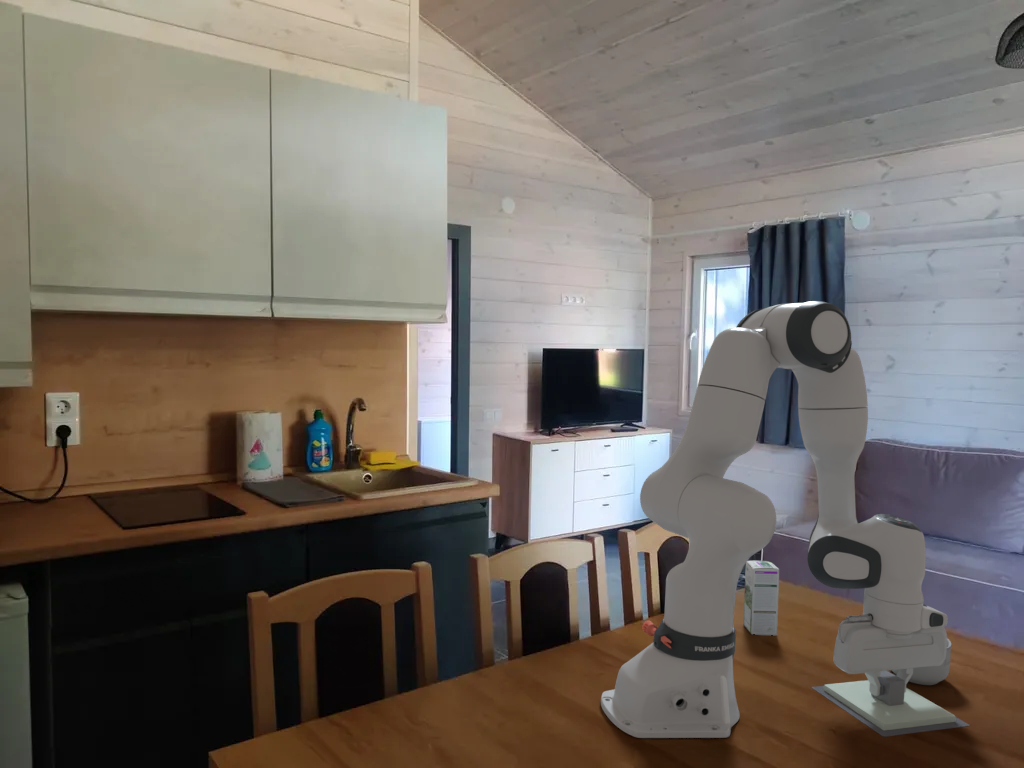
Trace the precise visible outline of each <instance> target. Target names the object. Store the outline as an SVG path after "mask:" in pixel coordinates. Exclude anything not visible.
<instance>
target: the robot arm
mask: <svg viewBox="0 0 1024 768" xmlns="http://www.w3.org/2000/svg"><path fill="white" fill-rule="evenodd" d="M852 344H853V343H852V331H851V327H850V323H849V321H848V319H847V317H846V315H845V313H844V312H843V310H841V308H840V307H839V306H838V305H837V306H836V305H835V304H833V303H829V302H825V301H820V300H812V301H811V300H810V301H806V302H794V303H793V302H792V303H791V302H784V303H780V304H775V305H773V306H768V307H764V308H758V309H755V310H753V311H750V312H749V313H748V314H746V315H745V316H744V317H743V318H742V319H741V320H740V321H739V322H738V323H737V325H736V326H735V327H731V328H726V329H724V330H722V331H721V332H719V333H718V334H716V336H715V338H714V340H713V342H712V344H711V345H710V347H709V351H708V353H707V355H706V358H705V360H704V363H703V367H702V369H701V372H700V375H699V379H698V383H697V387H696V391H695V394H694V399H693V402H692V407H691V409H690V410H691V411H690V412H689V413H690V414H689V417H688V421H687V424H686V427H685V430H684V433H683V435H682V436H681V439H680V441H679V443H678V445H677V446H676V448H675V450H674V451H673V452H672V454H671V455H670V457H669V458H668V459H667V461H666V462H665V463H664V464H663V465H662V466H660V467H659V468H658V469H656V470H654V471H653V472H651V474H649V475H648V476H647V478H646V479H645V480H644V482H643V484H642V485H641V486H642V487H641V489H640V493H639V497H640V498H639V502H640V507H641V509H642V512H643V513H644V516H646V517H647V518H648V519H649V520H650V521H652V522H653V523H654V524H656V525H657V526H659V527H660V528H662V529H664V531H667V532H670V533H673V534H675V535H679V536H682V537H684V538H687V539H688V543H689V544H688V549H687V552H686V553H687V554H686V557H685V559H684V561H683V562H681V563H678V564H677V565H675V566H673V567H672V568H671V569H670V570H669V571H668V573H667V576H666V579H665V595H664V616H663V618H662V620H661V621H660V624H659V625H658V626H657V625H656V624H655V623H653V621H651V620H645V621H644V622H643V623H642V626H641V627H642V631H643V632H644V633H646V634H647V635H648V636H650V637H653V639H652V642H651V643H650V644H649V645H647V647H645V648H644V649H642V650H641V651H640V652H638V653H637V654H636V655H635V656H633V657H632V658H630V659H629V660H628V661H627V662H624V663H623V664H622V665H621V667H620V668H619V670H618V673H617V677H616V681H615V686H614V689H609V690H605V691H603V692H602V694H601V697H600V706H601V709H602V711H603V713H604V714H605V715H606V716H607V718H608V719H609V721H610V722H612V724H614V725H615V726H616V728H619V730H621V731H622V732H624V733H626V734H627V735H630V736H632V737H634V738H638V739H669V738H670V739H679V738H680V739H681V738H683V739H686V738H687V739H689V738H690V739H694V738H695V739H696V738H697V739H698V738H699V739H700V738H701V739H711V738H712V739H714V738H716V739H717V738H719V739H721V738H722V739H723V738H729V737H730V735H731V733H732V730H731V729H732V727H733V726H734V725H735V724H736V723H737V722H738V721H739V720H740V717H741V716H740V711H739V707H738V706H739V705H738V703H737V702H738V701H737V698H736V697H737V696H736V691H735V690H736V689H735V682H734V663H733V659H734V657H735V652H736V636H737V635H736V633H737V632H736V628H735V627H734V617H735V607H736V605H735V603H736V595H737V594H736V593H737V587H738V582H739V578H740V576H741V573H742V571H743V569H744V568H745V566H746V562H747V561H749V559H750V558H751V557H752V556H754V555H755V554H757V553H758V552H760V551H762V550H763V549H764V548H766V546H767V545H769V543H770V542H771V540H772V538H773V536H774V534H775V531H776V526H777V513H776V509H775V506H774V503H773V501H772V500H771V499H770V498H769V497H768V495H766V494H765V493H763V492H761V491H759V490H758V489H756V488H754V487H752V486H750V485H748V484H746V483H743V482H741V481H736V480H734V479H733V480H732V479H727V478H724V476H725V474H726V472H727V470H728V469H729V467H730V466H731V464H732V463H733V462H735V460H736V459H737V458H739V457H741V456H743V455H744V454H745V455H746V454H748V453H749V452H750V451H751V450H752V449H753V447H754V446H755V445H756V442H757V438H758V435H759V429H760V425H761V421H762V416H763V412H764V408H765V403H766V399H767V394H768V390H769V389H768V387H769V383H770V379H771V378H772V375H773V373H774V372H775V371H776V369H784V370H785V369H786V370H791V372H793V375H794V377H795V378H796V382H797V386H798V388H797V390H798V393H797V408H798V409H797V410H798V412H797V413H798V423H799V429H800V433H801V439H802V441H803V442H802V444H803V446H804V448H805V450H806V451H807V453H808V454H809V455H810V457H811V460H812V462H813V464H814V468H815V472H816V479H817V481H816V482H817V499H818V502H817V503H818V504H817V505H818V514H817V520H816V522H815V524H814V526H813V528H812V530H811V533H810V536H809V541H808V543H809V544H808V545H809V547H808V551H807V552H808V553H807V559H806V560H807V565H808V567H809V568H808V569H809V571H810V572H811V574H812V575H813V577H814V578H815V579H816V580H817V581H818V582H820V583H821V584H823V585H825V586H827V587H829V588H833V589H839V590H840V589H843V590H844V589H847V590H849V589H850V590H853V589H854V590H855V589H863V591H864V592H863V593H864V594H863V607H862V608H863V609H862V611H863V612H862V614H857V615H854V614H851V615H847V616H846V617H845V618H844V619H842V621H841V622H840V623H839V624H838V631H837V635H836V639H835V643H834V649H833V657H832V658H833V659H832V661H833V663H834V665H835V666H836V667H837V668H838V669H840V670H841V671H843V672H845V673H847V674H848V675H858V674H864V675H865V676H866V678H867V680H868V681H869V682H870V688H869V690H870V693H871V694H873V695H875V696H881V695H884V688H885V686H884V685H882V684H880V683H879V680H878V678H877V677H880V674H881V671H888V672H889V671H892V670H898V669H899V672H898V674H897V675H896V676H897V677H899V678H901V679H903V680H904V681H905V691H904V693H905V692H906V688H907V684H908V683H909V679H910V678H911V676H912V674H913V668H919V667H930V666H940V665H941V664H942V663H943V662H944V660H945V658H946V651H947V638H948V634H947V630H946V628H945V627H946V626H947V625H948V620H949V619H948V615H947V614H946V613H945V612H942V611H940V610H938V609H935V608H933V607H932V606H928V605H927V604H925V603H924V595H923V591H922V590H923V589H922V585H923V580H924V579H925V575H926V561H927V560H926V556H927V555H926V554H927V553H926V540H925V535H924V533H923V531H922V530H921V528H920V527H919V526H918V525H916V523H914V522H912V521H910V520H907V518H906V519H905V518H903V517H900V516H897V515H893V514H886V513H885V514H884V513H879V514H875V515H873V516H872V517H871V518H868V519H866V520H864V521H862V522H859V520H858V518H857V517H858V516H857V511H856V510H857V509H856V488H855V485H856V484H855V482H856V481H855V473H856V468H857V463H858V460H859V458H860V456H861V454H862V452H863V450H864V448H865V444H866V443H865V442H866V438H867V431H868V424H869V423H868V421H869V409H868V408H869V407H868V406H869V405H868V394H867V391H868V390H867V385H866V379H865V373H864V369H863V365H862V361H861V357H860V354H859V353H858V351H856V350H855V349H854V348H853V347H852Z"/></svg>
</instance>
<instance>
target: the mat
mask: <svg viewBox="0 0 1024 768" xmlns="http://www.w3.org/2000/svg"><path fill="white" fill-rule="evenodd" d="M811 689H813V691H816V692H817V693H819V694H820V695H821V696H823V697H825V698H826V699H827V700H828V701H830V702H832V703H833V704H834V705H836V706H837V707H839V708H840V709H842V710H843V711H845V713H846V712H847V714H849V715H851V716H852V717H853V718H855V719H856V720H858V721H859V722H861V723H863V724H864V725H865V726H867V727H868V728H869V729H871V730H872V731H874V732H875V733H877V734H879V735H880V736H881V737H892V736H900V735H907V734H915V733H922V732H923V733H925V732H931V731H939V730H940V731H941V730H946V729H947V730H948V729H955V728H963V727H971V725H970V724H968V723H967V722H965V721H964V720H962V719H960V718H959V717H957V716H955V722H949V723H941V724H933V725H925V726H917V727H909V728H901V729H893V730H885V731H884V730H882V729H881V728H879V727H878V726H876V725H875V724H873V723H872V722H870V721H869V720H867V719H866V718H864V717H863V716H861V715H860V714H858V713H857V712H855V711H854V710H852V709H851V708H850V707H848V706H847V705H845V704H844V703H842V702H841V701H839V700H838V699H836V698H835V697H833V696H832V695H830V694H829V693H827V692H826V691H824V685H820V686H811Z"/></svg>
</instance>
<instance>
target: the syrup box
mask: <svg viewBox="0 0 1024 768" xmlns="http://www.w3.org/2000/svg"><path fill="white" fill-rule="evenodd" d="M779 583H780V568H779V567H777V566H776V565H775V564H774V563H773V562H771V561H768V560H748V561H747V562H746V564H745V573H744V595H743V597H744V601H743V624H742V625H743V626H744V628H746V630H747V631H748V632H749V633H750V634H751V635H753V634H755V635H757V636H771V635H773V637H774V636H776V637H777V635H778V620H779V619H778V617H779V615H778V613H779V591H780V590H779V588H780V586H779V585H780V584H779Z"/></svg>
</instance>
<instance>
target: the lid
mask: <svg viewBox="0 0 1024 768" xmlns="http://www.w3.org/2000/svg"><path fill="white" fill-rule="evenodd" d="M877 678H878V680H879V683H880V684H882V685H884V686H885V688H884V695H881V696H875V695H873V694H871V693H870V690H869V688H870V682H869V681H868V679H867V680H865V679H864V680H857V681H847V682H839V683H838V682H836V683H827V684H826V683H825V684H824V685H823V686H824V691H826V692H827V693H829V694H830V695H832V696H833V697H835V698H836V699H838V700H839V701H841V702H842V703H844V704H845V705H847V706H848V707H850V708H851V709H852V710H854V711H855V712H857V713H858V714H860V715H861V716H863V717H864V718H866V719H867V720H869V721H870V722H872V723H873V724H875V725H876V726H878V727H879V728H881V729H882V730H884V731H885V730H893V729H901V728H909V727H917V726H925V725H933V724H941V723H949V722H955V717H956V715H955V714H954V713H952V712H950V711H948V710H946V709H944V708H943V707H941V706H940V705H937V704H935V702H932V701H930V700H929V699H927V698H925V697H924V696H922V695H920V694H918V693H917V692H915V691H913V690H911V689H909V688H908V687H906V692H905V693H904V691H905V681H904V680H903V679H901V678H899V677H897V675H896V674H895V673H892V672H890V671H889V670H888V671H881V674H880V677H877Z"/></svg>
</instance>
